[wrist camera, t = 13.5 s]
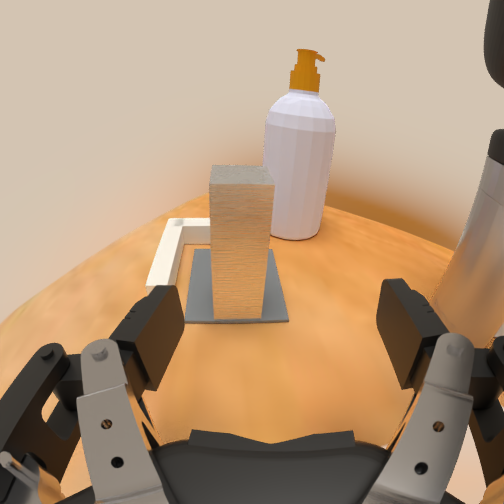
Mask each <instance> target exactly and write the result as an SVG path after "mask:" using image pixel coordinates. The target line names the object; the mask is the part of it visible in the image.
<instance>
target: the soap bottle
mask: <svg viewBox="0 0 504 504" xmlns="http://www.w3.org/2000/svg"><path fill="white" fill-rule="evenodd" d="M297 51H298V62H297V64H295V69H294V71H291V74H290V87H289V93H288V94H287V95H285V96H282V97H281V98H280V99H279V100H278V101H276V103H275V104H274V105H273V106H272V107H271V108H270V110H269V113H268V116H267V119H266V125H265V141H264V155H263V166H267V168H268V170H269V173H270V175H271V177H272V179H273V181H274V183H275V191H274V202H273V212H272V222H271V232H270V234H271V235H272V236H276V237H279V238H283V239H290V240H301V239H308V238H310V237H312V236H314V235H316V233H317V232H318V230H319V228H320V223H321V218H322V213H323V208H324V202H325V196H326V191H327V185H328V179H329V173H330V167H331V160H332V154H333V146H334V140H335V133H336V128H335V119H334V117H333V115H332V113H331V111H330V109H329V108H328V106H327V105H326V103H325V102H324V101H322V100H321V99H320V98H319V96H318V93H319V83H320V74H317V67H315V59H318V60H320V61H323V62H324V61H325V58H324V57H322V56H321V55H319V54H316V53H318V52H316V51H313V50H307V49H297Z"/></svg>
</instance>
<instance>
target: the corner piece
mask: <svg viewBox="0 0 504 504" xmlns="http://www.w3.org/2000/svg"><path fill="white" fill-rule="evenodd" d="M184 244H211V241H210V218H169V220H168V222H167V225H166V227H165V230H164V233H163V236H162V238H161V241H160V244H159V247H158V249H157V252H156V255H155V258H154V261H153V264H152V267H151V270H150V273H149V276H148V279H147V282H146V285H145V286H146V290H147V294H148V295H149V294H150V292H151V291H152V290H153V288H154V287H155V286H156V285H175V283H176V279H177V274H178V269H179V264H180V260H181V255H182V251H183V246H184Z"/></svg>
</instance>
